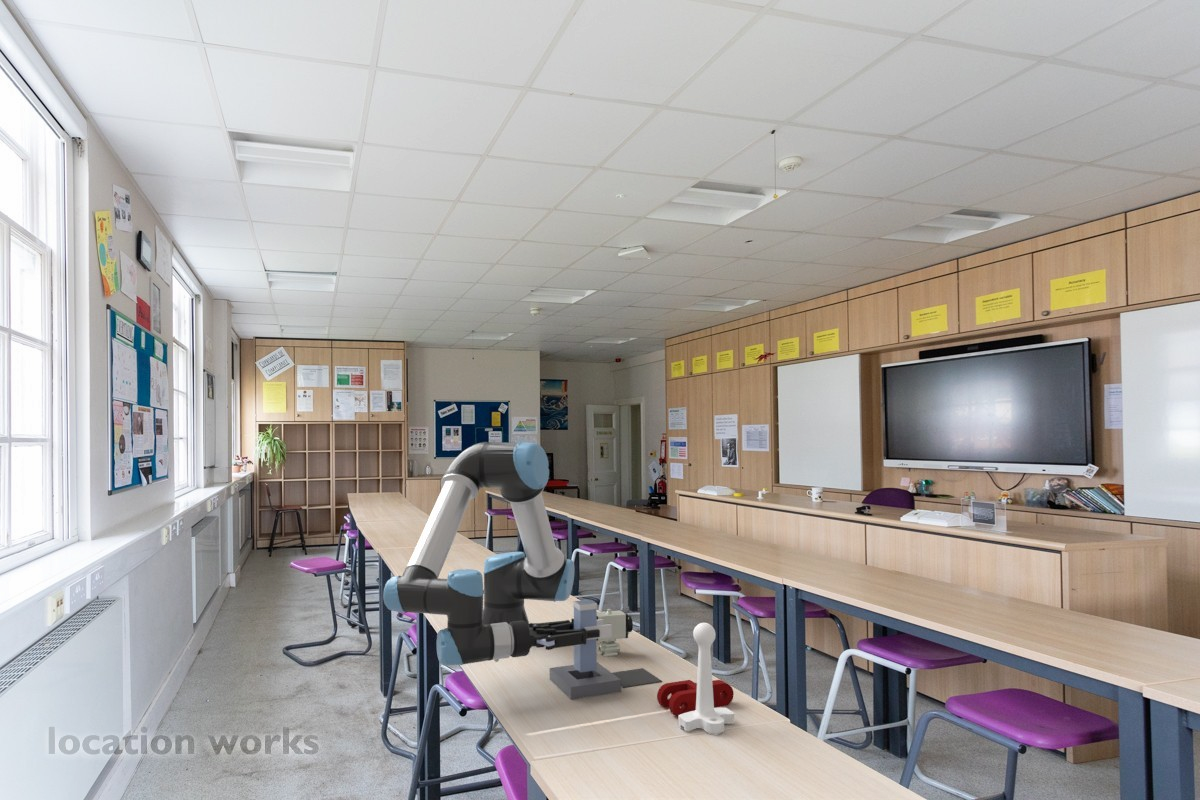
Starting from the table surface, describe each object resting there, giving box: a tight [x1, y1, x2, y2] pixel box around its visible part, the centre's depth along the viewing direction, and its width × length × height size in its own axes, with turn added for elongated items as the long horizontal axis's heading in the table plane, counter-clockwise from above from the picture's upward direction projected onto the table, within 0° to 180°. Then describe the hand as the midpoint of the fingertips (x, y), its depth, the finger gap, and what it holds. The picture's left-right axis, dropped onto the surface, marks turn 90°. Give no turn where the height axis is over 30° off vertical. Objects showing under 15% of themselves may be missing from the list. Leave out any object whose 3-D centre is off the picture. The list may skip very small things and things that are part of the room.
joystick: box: [677, 622, 735, 735], centre depth 141 cm, size 11×8×20 cm
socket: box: [549, 661, 622, 700], centre depth 164 cm, size 14×12×3 cm
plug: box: [572, 599, 598, 672], centre depth 164 cm, size 4×4×15 cm
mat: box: [612, 667, 663, 689], centre depth 169 cm, size 10×10×1 cm
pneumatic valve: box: [597, 608, 634, 657], centre depth 188 cm, size 6×12×12 cm, turn 107°
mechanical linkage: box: [656, 679, 735, 719], centre depth 151 cm, size 16×7×5 cm, turn 112°
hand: (606, 627), depth 166 cm, fingers closed on plug, 4 cm apart
